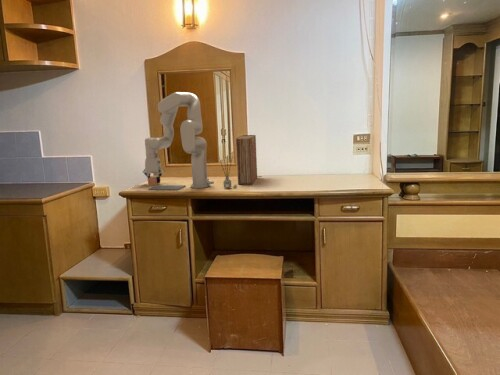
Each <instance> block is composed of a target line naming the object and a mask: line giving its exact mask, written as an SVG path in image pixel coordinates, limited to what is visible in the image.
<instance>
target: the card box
mask: <svg viewBox="0 0 500 375" xmlns="http://www.w3.org/2000/svg"><path fill="white" fill-rule="evenodd" d="M160 184H161V182H160V183H157V175H152V176H151V175H150V177H149V178H147V185H148V186H157V185H160Z"/></svg>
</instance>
